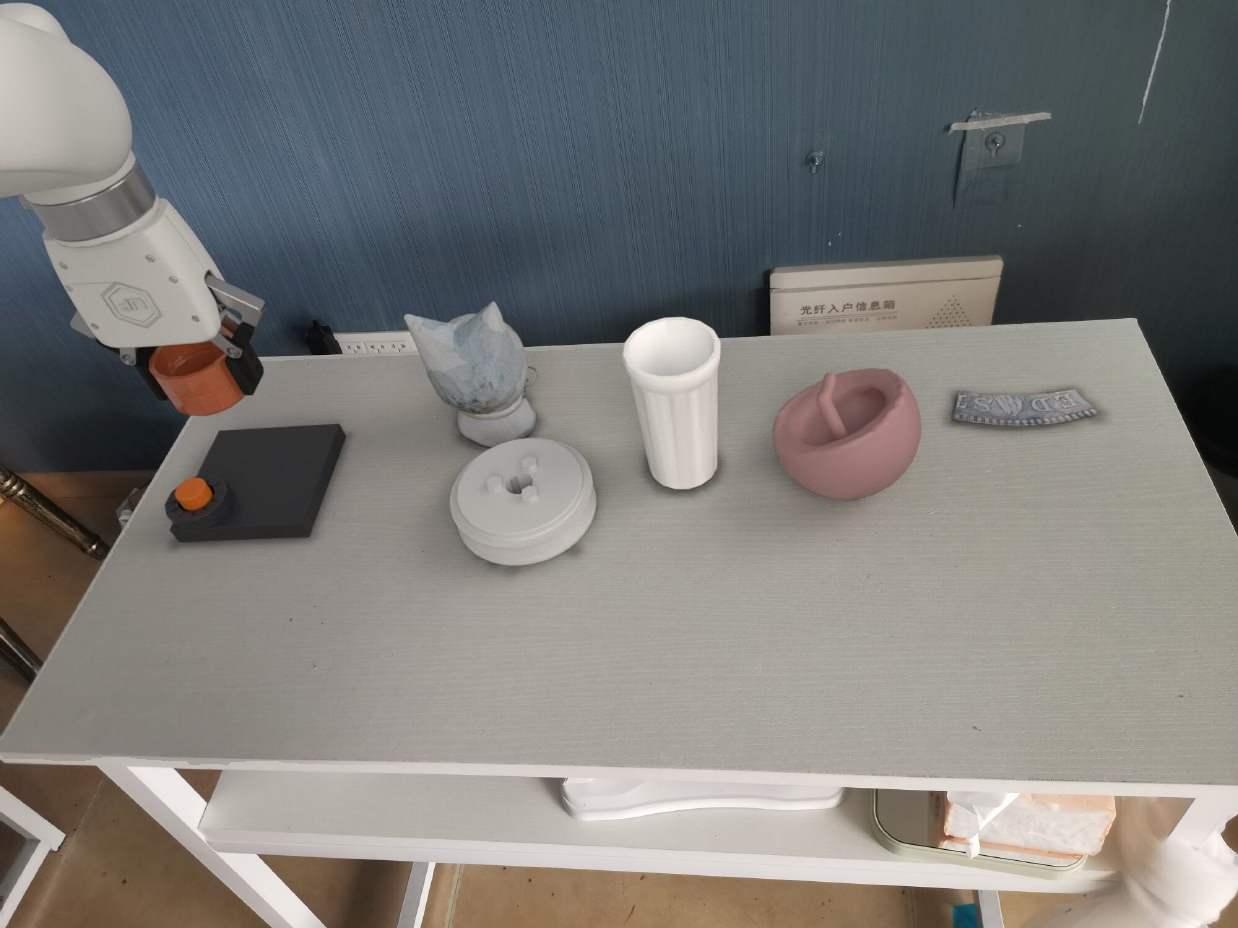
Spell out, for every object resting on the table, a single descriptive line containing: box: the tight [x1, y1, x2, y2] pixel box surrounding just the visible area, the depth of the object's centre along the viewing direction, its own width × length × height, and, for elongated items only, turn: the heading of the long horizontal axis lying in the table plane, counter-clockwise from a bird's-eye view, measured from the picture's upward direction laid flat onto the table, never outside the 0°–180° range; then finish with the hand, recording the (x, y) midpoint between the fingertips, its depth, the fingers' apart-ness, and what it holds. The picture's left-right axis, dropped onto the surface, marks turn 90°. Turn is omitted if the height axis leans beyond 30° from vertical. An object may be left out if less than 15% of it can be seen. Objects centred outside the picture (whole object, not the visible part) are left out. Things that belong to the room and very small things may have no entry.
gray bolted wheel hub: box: [449, 437, 597, 566], centre depth 78 cm, size 13×13×5 cm
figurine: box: [403, 300, 540, 448], centre depth 84 cm, size 10×9×15 cm
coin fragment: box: [952, 388, 1101, 427], centre depth 81 cm, size 13×5×1 cm, turn 85°
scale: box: [164, 423, 347, 543], centre depth 85 cm, size 13×13×4 cm
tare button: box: [175, 477, 213, 511], centre depth 82 cm, size 3×3×2 cm
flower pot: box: [149, 325, 246, 417], centre depth 74 cm, size 7×7×4 cm
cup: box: [621, 316, 722, 490], centre depth 76 cm, size 8×8×14 cm
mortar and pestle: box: [772, 367, 922, 501], centre depth 74 cm, size 12×12×11 cm
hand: (212, 385), depth 75 cm, fingers closed on flower pot, 7 cm apart
